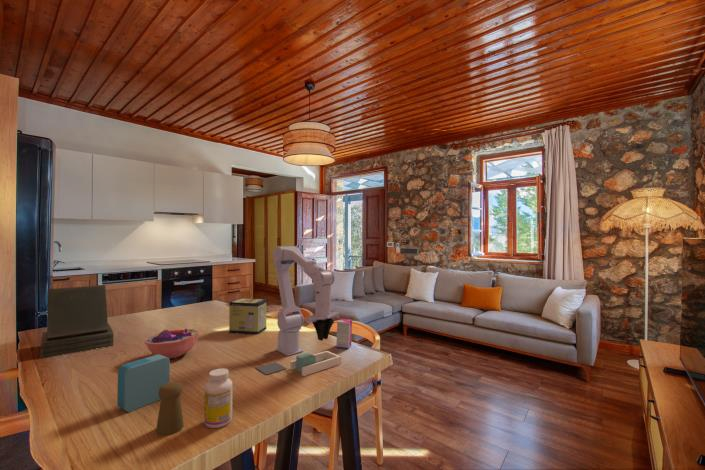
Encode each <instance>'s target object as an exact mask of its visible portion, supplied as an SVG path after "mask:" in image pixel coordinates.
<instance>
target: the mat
mask: <svg viewBox="0 0 705 470" xmlns="http://www.w3.org/2000/svg"><path fill="white" fill-rule="evenodd" d="M255 369H256V370H257V371H259V372H260V373H262V374H263V375H265V376H269V375H272V374H275V373H279V372H282V371H285V370H287V367H285V366H283V365H281V364H280V363H278V362H277V361H274V362H272V363H267V364H264V365H261V366H256V367H255Z"/></svg>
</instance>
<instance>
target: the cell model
mask: <svg viewBox="0 0 705 470" xmlns="http://www.w3.org/2000/svg"><path fill="white" fill-rule="evenodd" d="M198 340H199V331H198V330H196V329H193V328H191V329H188V328H185V329H175V330H169V329H163V330H162V331H160V332H157V333H155V334H153V335H150V336H148V337H146V338H145V339H144V340H143V343H144V345H145V347H146V348H147V349H148V351H150V353H151V354H152V356H154V355H162V356H165V357H167V358H169V360H172V359H176V358H178V357H180V356H183V355H184V354H186V353H188V352H189V351H191V350H192V349H193V348H194V347H195V345H196V344H197V341H198Z"/></svg>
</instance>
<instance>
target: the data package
mask: <svg viewBox="0 0 705 470" xmlns="http://www.w3.org/2000/svg"><path fill="white" fill-rule="evenodd" d="M170 360H171V359H169V358H167V357H165V356H162V355H152V356H147V357H144V358H141V359H137V360H134V361H130V362H127V363H124V364H121V366H119V368H118V370H117V394H116V395H117V397H116V399H117V402H116V403H117V404H116V405H117V407H118V408H120V409H121V410H124V411H125V412H126V413H131V412H133V411H136V410H139V409H141V408H142V407H143V408H144V407H146V406H149V405H151V404H153V403H156V402H159V401H161V399H160V398H159V395H158V392H159V389H160V387H161V386H162V385H164V384H166V383H169V382H171V380H170V379H171V378H170V377H171V376H170V375H171V361H170Z"/></svg>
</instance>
